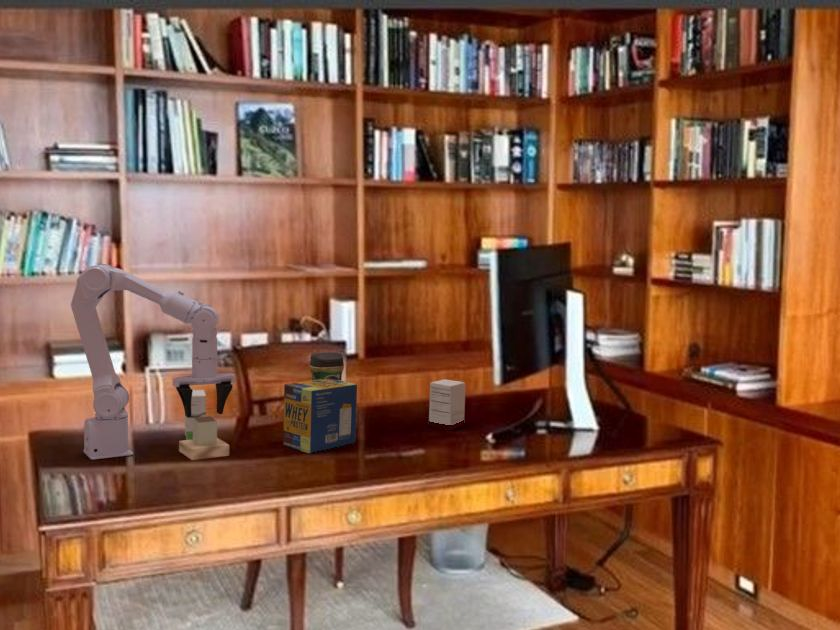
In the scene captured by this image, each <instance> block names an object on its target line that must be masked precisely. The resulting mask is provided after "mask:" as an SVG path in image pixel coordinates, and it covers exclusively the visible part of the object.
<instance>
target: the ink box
mask: <svg viewBox="0 0 840 630" xmlns="http://www.w3.org/2000/svg"><path fill="white" fill-rule="evenodd" d="M192 390H193V392H192V399H191V417H187V416H185V415H184V436H186V437H185V440H191V439H193V419H195V417H206V416H207V395H206V391H205V389H192Z"/></svg>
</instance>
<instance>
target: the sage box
mask: <svg viewBox="0 0 840 630" xmlns="http://www.w3.org/2000/svg"><path fill="white" fill-rule="evenodd" d="M217 438H218V421H217V420H216V419H215V418H214V417H212V416H211V415H208V416H207V415H206V417H195V419H193V442H194V443H195V444H196V445H198V446H204V445H213V444H217Z"/></svg>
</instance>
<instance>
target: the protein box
mask: <svg viewBox="0 0 840 630" xmlns="http://www.w3.org/2000/svg"><path fill="white" fill-rule="evenodd" d="M283 387H284V390H283V391H284V393H283V446H285V447H288V448H291V449H294V450H298V451H300V452H303V453H307V454H309V453H310V454H313V452H315V453H318V452H317V451H320V452H322V451H321V450H324V451H326V450H325V449H329V450H331V449H330V448H334V447H338V448H340V447H339V446H343V445H346V444H350V443H353V442H355V443H356V439H357V436H356V435H357V433H356V432H357V405H358V404H357V401H358V400H357V398H358V384H357V383H353V382H349V381H345V380H344V381H343V380H342V379H341V380H337V379H332V378H326V379H320V380H313V381H312V380H308V381H307V380H306V381H299V382H294V383H286V384H284V385H283ZM343 447H344V446H343ZM334 449H335V448H334Z"/></svg>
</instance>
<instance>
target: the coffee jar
mask: <svg viewBox="0 0 840 630" xmlns="http://www.w3.org/2000/svg"><path fill="white" fill-rule="evenodd" d="M309 359H310V360H309V370H310V373H311V381H313V380H320V379H326V378H332V379H337V380H341V381H342V374H343V372H344V370H345V369H344V368H345V363H344V356H343V354H342V353H340V352H333V351H332V352H318V353H317V352H315V353H311V355H310V358H309Z"/></svg>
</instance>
